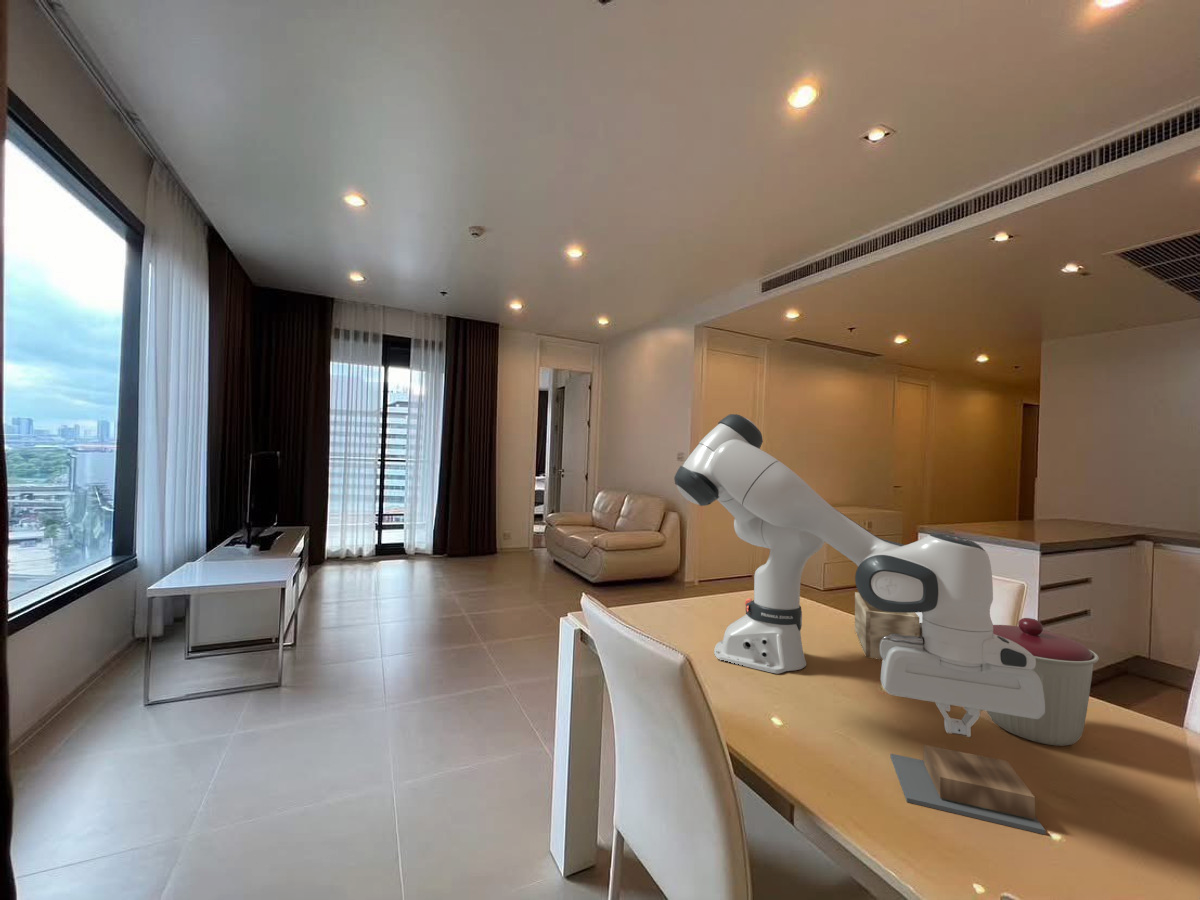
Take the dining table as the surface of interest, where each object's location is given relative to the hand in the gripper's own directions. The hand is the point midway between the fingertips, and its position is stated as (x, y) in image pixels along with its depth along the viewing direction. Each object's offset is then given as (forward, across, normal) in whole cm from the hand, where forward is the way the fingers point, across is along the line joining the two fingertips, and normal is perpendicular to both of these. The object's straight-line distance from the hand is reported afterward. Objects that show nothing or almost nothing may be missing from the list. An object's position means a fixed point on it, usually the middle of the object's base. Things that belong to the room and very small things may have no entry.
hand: (957, 733), depth 73 cm
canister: (+9, +19, +27) cm, 34 cm away
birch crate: (+8, +1, +66) cm, 67 cm away
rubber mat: (+9, 0, 0) cm, 9 cm away
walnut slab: (+6, -3, 0) cm, 7 cm away
